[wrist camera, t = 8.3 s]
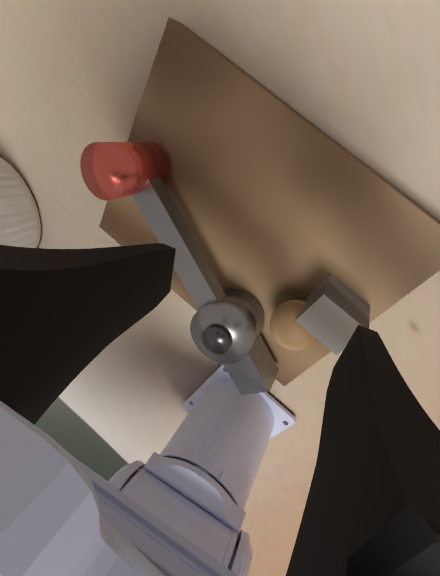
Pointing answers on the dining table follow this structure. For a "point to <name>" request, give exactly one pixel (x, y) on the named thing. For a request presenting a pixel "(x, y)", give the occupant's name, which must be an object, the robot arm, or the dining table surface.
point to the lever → (185, 260)
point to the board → (274, 205)
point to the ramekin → (17, 210)
